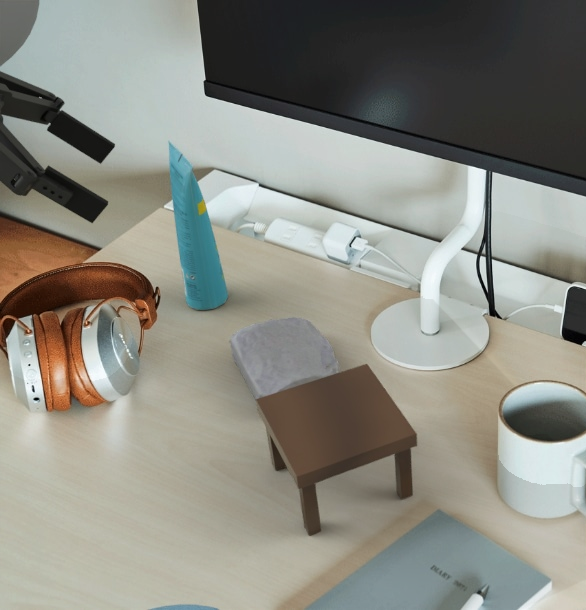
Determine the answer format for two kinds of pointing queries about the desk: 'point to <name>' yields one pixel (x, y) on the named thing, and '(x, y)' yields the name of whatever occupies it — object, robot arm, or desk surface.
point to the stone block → (282, 355)
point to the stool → (336, 433)
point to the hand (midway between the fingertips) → (104, 181)
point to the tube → (195, 238)
